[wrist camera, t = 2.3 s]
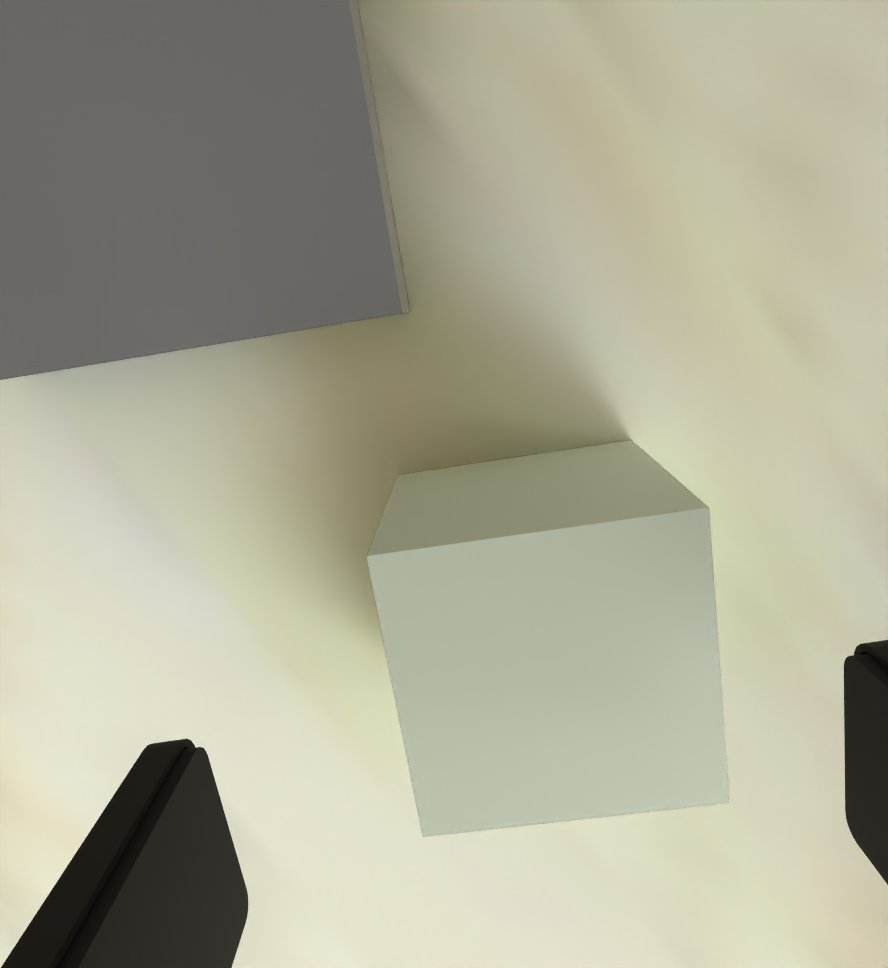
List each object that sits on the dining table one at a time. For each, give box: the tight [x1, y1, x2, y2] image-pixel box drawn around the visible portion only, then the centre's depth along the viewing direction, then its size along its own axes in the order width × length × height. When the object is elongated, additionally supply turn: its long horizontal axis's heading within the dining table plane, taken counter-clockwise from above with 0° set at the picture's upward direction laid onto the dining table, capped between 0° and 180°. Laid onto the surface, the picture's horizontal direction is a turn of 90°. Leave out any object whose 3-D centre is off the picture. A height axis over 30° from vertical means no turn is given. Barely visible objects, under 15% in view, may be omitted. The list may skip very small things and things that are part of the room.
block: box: [366, 440, 730, 837], centre depth 16 cm, size 6×6×6 cm
